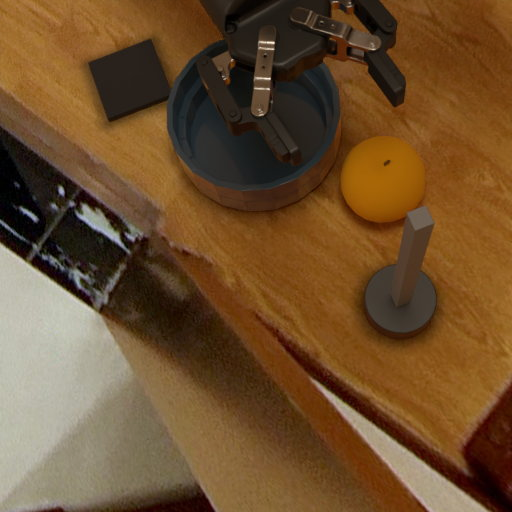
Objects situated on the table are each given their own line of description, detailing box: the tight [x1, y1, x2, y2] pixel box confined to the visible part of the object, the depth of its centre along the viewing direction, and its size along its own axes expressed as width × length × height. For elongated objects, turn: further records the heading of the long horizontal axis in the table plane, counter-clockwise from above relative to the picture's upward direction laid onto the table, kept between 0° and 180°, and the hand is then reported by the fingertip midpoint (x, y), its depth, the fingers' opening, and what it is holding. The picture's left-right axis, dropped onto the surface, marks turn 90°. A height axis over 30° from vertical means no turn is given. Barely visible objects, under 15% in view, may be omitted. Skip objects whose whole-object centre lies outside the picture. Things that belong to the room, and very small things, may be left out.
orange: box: [339, 135, 427, 224], centre depth 79 cm, size 8×8×8 cm
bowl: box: [166, 38, 342, 212], centre depth 83 cm, size 16×16×6 cm
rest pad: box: [87, 38, 172, 123], centre depth 88 cm, size 7×7×1 cm
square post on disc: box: [363, 204, 438, 340], centre depth 68 cm, size 6×6×24 cm
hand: (349, 130), depth 61 cm, fingers open, 8 cm apart
